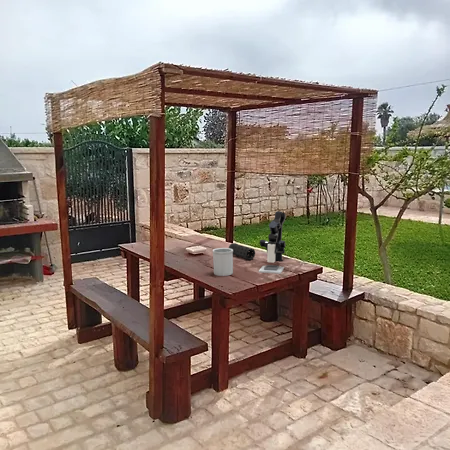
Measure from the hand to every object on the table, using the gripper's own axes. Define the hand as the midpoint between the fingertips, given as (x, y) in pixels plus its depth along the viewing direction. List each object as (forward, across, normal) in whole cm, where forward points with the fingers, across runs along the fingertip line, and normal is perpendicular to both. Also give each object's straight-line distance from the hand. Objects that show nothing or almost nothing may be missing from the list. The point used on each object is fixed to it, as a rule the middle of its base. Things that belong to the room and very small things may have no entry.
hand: (271, 253), depth 316 cm
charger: (+4, 0, +6) cm, 7 cm away
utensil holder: (+21, -32, -2) cm, 39 cm away
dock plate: (+8, 0, +10) cm, 13 cm away
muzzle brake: (-17, -32, +36) cm, 52 cm away
